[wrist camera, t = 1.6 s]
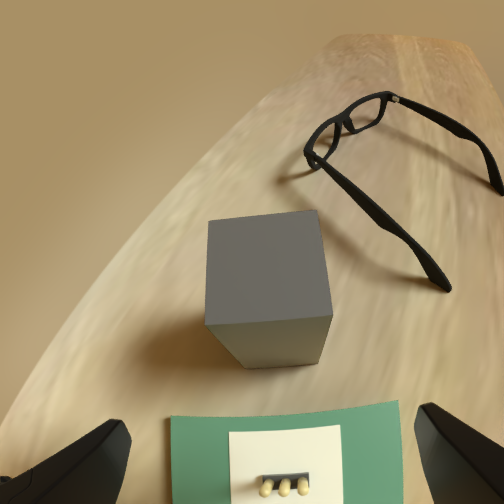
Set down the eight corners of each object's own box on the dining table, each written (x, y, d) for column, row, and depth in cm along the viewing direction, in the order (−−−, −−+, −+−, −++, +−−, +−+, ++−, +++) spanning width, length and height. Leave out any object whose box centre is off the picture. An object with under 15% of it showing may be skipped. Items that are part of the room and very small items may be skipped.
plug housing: (311, 296, 23) (316, 209, 14) (318, 363, 21) (333, 314, 12) (244, 302, 24) (208, 220, 15) (245, 368, 21) (204, 325, 12)
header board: (398, 517, 14) (420, 536, 10) (180, 528, 16) (153, 547, 12) (393, 401, 19) (416, 394, 15) (176, 416, 20) (147, 412, 16)
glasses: (379, 116, 35) (382, 81, 30) (505, 192, 26) (522, 159, 22) (286, 187, 31) (281, 148, 26) (441, 303, 22) (465, 273, 18)
